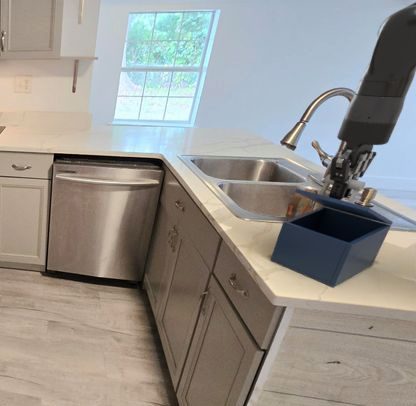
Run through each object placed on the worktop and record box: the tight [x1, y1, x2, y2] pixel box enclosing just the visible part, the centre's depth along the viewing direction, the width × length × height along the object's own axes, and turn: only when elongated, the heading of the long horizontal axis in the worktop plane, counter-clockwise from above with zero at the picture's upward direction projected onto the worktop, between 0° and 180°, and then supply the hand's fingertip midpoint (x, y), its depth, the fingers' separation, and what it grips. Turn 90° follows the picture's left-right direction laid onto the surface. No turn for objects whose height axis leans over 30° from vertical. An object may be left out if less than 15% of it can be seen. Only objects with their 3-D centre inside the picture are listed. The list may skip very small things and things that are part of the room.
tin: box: [285, 188, 319, 221], centre depth 110 cm, size 15×3×8 cm, turn 122°
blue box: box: [269, 205, 392, 288], centre depth 87 cm, size 19×13×11 cm
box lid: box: [294, 174, 394, 226], centre depth 83 cm, size 20×13×6 cm, turn 117°
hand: (338, 197), depth 80 cm, fingers closed on box lid, 2 cm apart
